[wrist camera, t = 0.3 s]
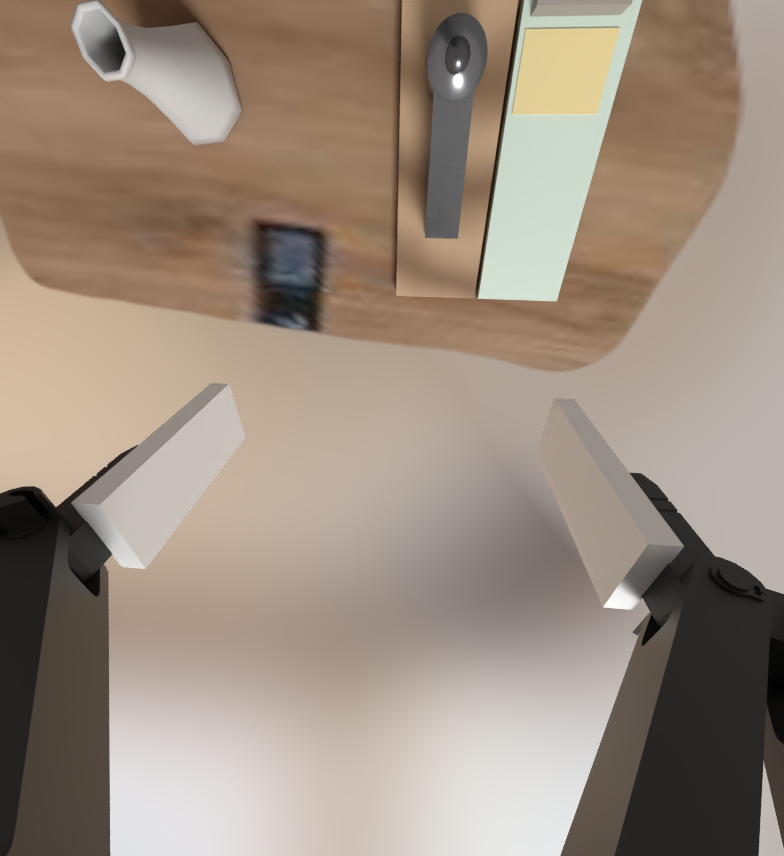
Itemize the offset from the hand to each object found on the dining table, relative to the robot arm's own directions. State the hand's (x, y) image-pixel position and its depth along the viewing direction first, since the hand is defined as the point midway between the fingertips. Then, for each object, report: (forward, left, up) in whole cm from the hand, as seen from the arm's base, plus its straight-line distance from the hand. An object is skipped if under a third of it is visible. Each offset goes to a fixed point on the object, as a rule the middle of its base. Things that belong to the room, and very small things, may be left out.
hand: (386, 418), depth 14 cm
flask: (-15, -18, -26) cm, 35 cm away
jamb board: (-9, +3, -26) cm, 27 cm away
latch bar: (-11, +3, -24) cm, 27 cm away
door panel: (-9, +11, -26) cm, 29 cm away
